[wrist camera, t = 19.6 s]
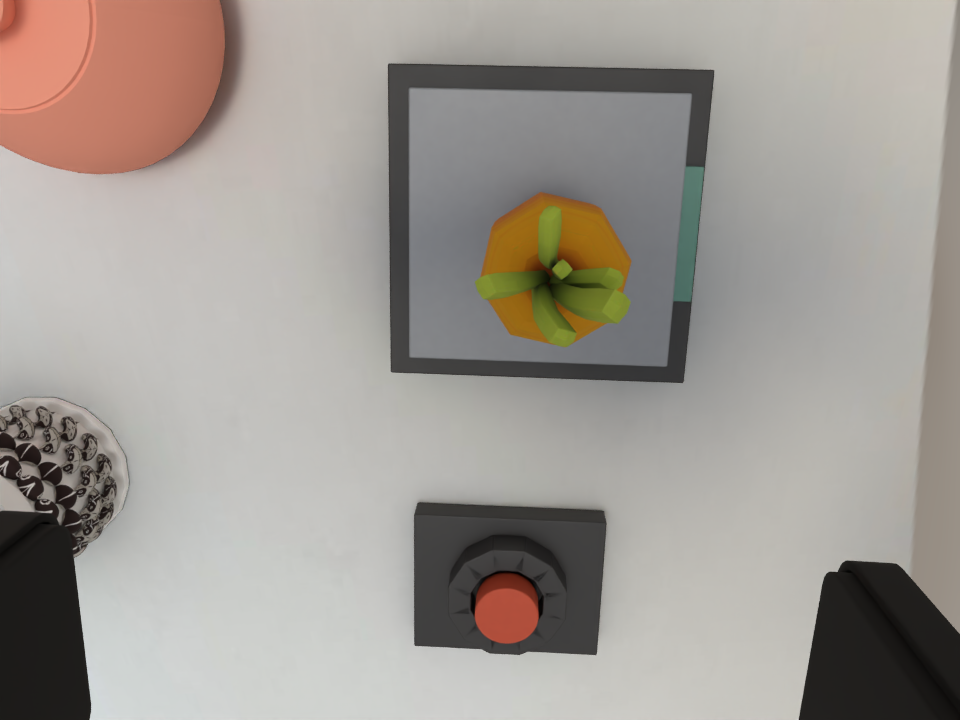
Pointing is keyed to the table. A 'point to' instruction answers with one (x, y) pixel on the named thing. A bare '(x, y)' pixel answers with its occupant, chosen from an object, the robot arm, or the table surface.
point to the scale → (521, 175)
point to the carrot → (555, 270)
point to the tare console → (508, 549)
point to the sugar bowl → (106, 79)
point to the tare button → (506, 608)
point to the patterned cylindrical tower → (61, 466)
